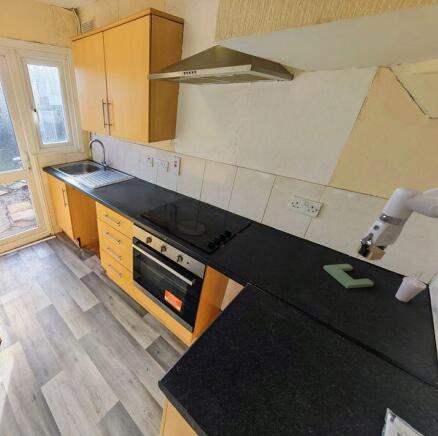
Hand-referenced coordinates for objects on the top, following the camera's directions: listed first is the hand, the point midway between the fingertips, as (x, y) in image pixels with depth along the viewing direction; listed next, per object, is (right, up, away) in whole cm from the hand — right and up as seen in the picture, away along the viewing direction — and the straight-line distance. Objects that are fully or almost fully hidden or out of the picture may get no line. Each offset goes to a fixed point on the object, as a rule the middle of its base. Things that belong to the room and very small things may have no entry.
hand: (368, 254), depth 98 cm
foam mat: (-3, -12, +8) cm, 14 cm away
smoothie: (+11, -18, -3) cm, 21 cm away
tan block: (0, 0, 0) cm, 1 cm away
